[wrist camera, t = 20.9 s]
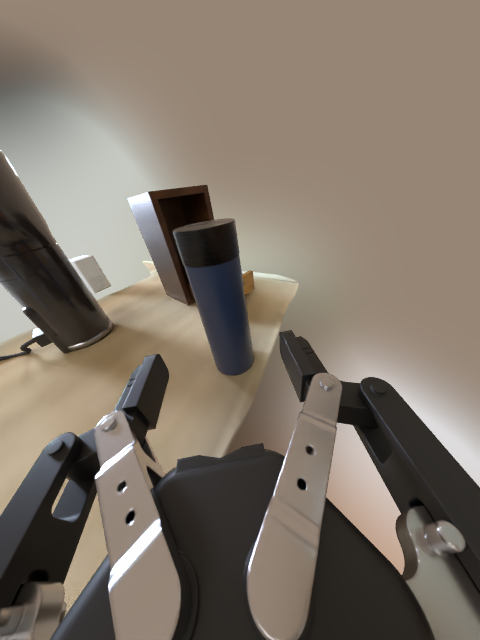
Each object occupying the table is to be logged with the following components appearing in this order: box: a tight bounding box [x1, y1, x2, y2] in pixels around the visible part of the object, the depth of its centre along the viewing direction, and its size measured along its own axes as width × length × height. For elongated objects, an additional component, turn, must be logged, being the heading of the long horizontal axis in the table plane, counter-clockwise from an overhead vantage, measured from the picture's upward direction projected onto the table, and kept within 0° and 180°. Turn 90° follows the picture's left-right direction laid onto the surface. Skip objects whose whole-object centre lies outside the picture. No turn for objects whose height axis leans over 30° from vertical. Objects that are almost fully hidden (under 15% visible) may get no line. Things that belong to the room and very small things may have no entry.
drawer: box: [187, 271, 254, 299], centre depth 41 cm, size 12×11×4 cm
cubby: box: [127, 185, 214, 306], centre depth 43 cm, size 13×11×22 cm
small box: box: [69, 256, 111, 293], centre depth 59 cm, size 8×6×10 cm
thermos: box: [173, 219, 254, 375], centre depth 22 cm, size 6×6×18 cm
